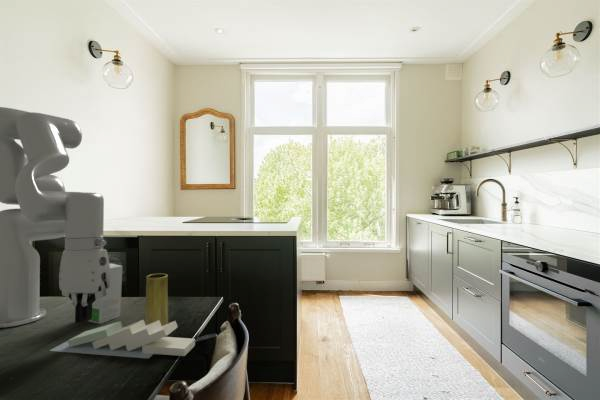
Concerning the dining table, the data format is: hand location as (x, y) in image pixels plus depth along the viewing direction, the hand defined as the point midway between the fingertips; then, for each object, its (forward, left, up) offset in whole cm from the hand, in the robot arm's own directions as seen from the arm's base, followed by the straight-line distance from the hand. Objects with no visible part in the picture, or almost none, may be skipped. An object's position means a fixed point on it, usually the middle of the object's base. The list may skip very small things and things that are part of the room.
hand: (83, 321), depth 74 cm
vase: (+12, +11, -6) cm, 17 cm away
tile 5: (+17, 0, -4) cm, 17 cm away
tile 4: (+13, 0, -4) cm, 14 cm away
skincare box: (-8, +15, -6) cm, 18 cm away
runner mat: (+7, 0, -6) cm, 9 cm away
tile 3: (+9, 0, -4) cm, 10 cm away
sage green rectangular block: (-2, 0, -4) cm, 5 cm away
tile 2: (+5, 0, -4) cm, 7 cm away
